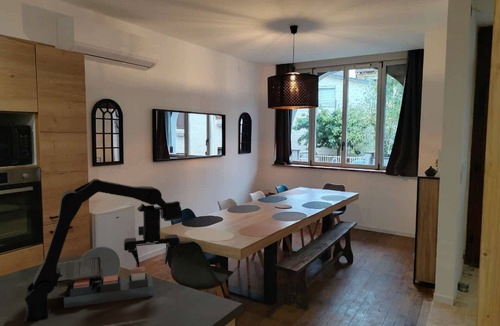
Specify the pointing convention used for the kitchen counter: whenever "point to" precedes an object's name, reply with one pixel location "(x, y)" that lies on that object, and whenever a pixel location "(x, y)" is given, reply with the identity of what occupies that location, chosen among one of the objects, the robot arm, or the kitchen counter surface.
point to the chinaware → (105, 260)
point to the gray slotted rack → (108, 292)
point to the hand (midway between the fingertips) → (152, 265)
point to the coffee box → (79, 271)
